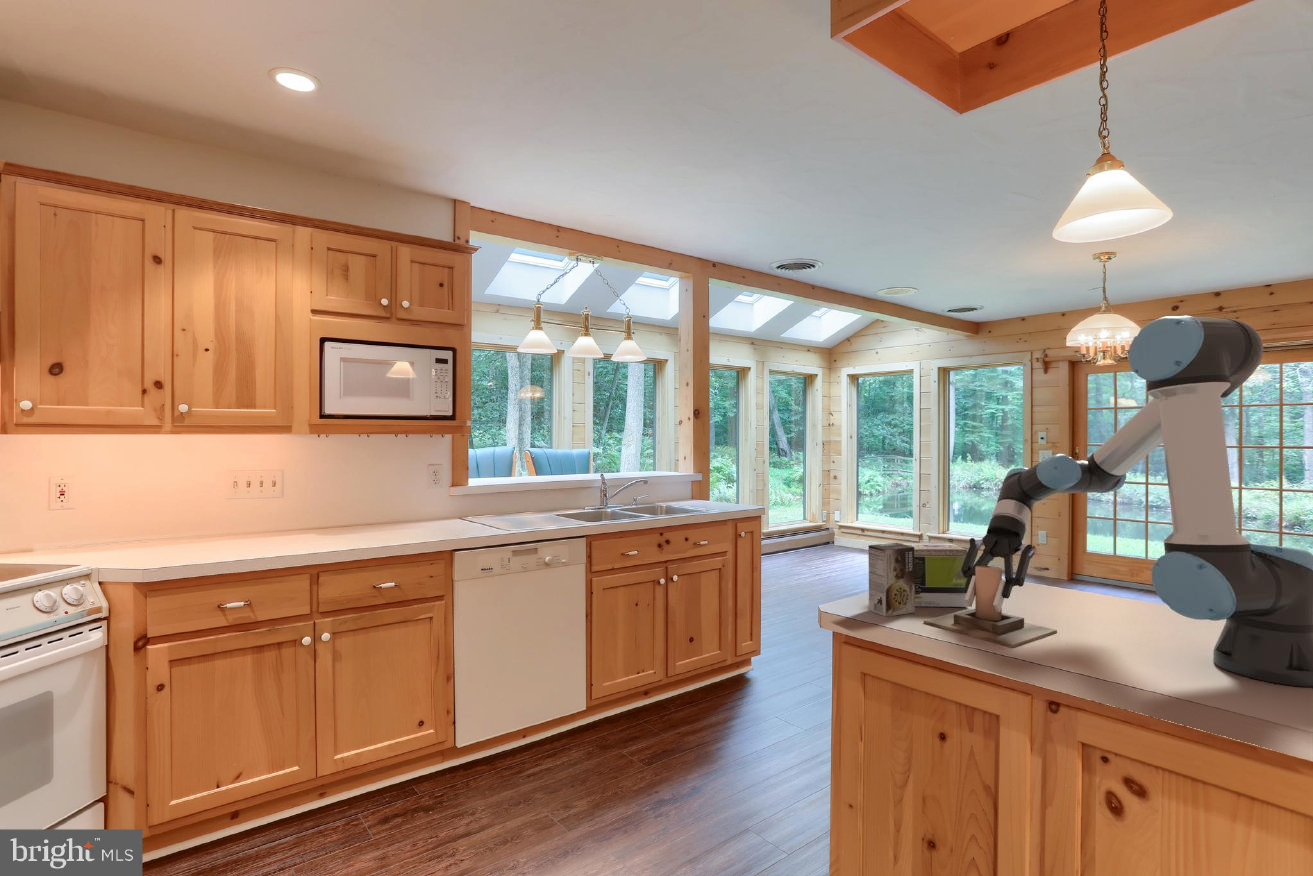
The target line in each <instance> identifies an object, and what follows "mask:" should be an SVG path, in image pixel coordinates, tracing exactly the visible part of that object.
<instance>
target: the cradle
mask: <svg viewBox="0 0 1313 876" xmlns="http://www.w3.org/2000/svg"><path fill="white" fill-rule="evenodd" d="M922 623H923V624H926V625H930V626H933V627H936V628H941V629H944V630H947V631H950V632H955V633H958V634H962V635H966V636H969V637H971V638H972V637H973V638H976V639H979V640H983V641H987V642H991V643H995V644H999V645H1002V646H1006V647H1008V648H1016V647H1019V646H1022V645H1025V644H1027V643H1028V644H1029V643H1031V642H1033V641H1037V640H1039V639H1042V638H1045V636H1046V637H1049V636H1051V635H1055V634H1057V633H1058V631H1057V629H1054V628H1050V627H1046V626H1042V625H1038V624H1037V625H1036V624H1033V623H1029V622H1025V617H1020V616H1016V615H1012V614H1008V613H1004V612H1002V620H999V621H989V620H983V619H980V618H977V617H976V616H975V608H972V609H971V608H967V609H963V610H959V611H955V612H951V613H946V614H943V615H939V616H936V617H932V618H928V619H925V620H923V622H922Z"/></svg>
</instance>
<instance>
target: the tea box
mask: <svg viewBox="0 0 1313 876" xmlns="http://www.w3.org/2000/svg"><path fill="white" fill-rule="evenodd" d="M899 543H900V544H905V545H908V546H912V547H914V560H915V607H943V608H944V607H945V608H946V607H947V608H949V607H950V608H953V607H954V608H969V607H968V605H967V603H966V601H965V597H966V594H967V591H966V588H965V584H966V581H967V578H965V577H964V576H963V573H962V571H961V568H962V565H963V563H964V560H965V558H966V555H967V552H968V549H966V548H965V547H961V546H959V545H956V544H954V543H950V542H949V543H945V542H944V543H941V542H937V543H934V542H932V543H931V542H930V543H928V542H926V543H925V542H923V543H922V542H921V543H920V542H918V543H917V542H916V543H915V542H912V543H911V542H909V543H905V542H904V543H901V542H899Z"/></svg>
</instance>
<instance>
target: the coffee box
mask: <svg viewBox="0 0 1313 876" xmlns="http://www.w3.org/2000/svg"><path fill="white" fill-rule="evenodd" d="M900 543H901V542H893V543H892V542H890V543H880V544H871V545H870V544H869V545H868V611H870V612H871V613H872V612H873V613H875V614H878V615H880V616H883V617H894V616H900V615H907V614H914V613H916V606H915V560H914V547H912V546H908V545H905V544H900Z"/></svg>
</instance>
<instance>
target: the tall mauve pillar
mask: <svg viewBox="0 0 1313 876" xmlns="http://www.w3.org/2000/svg"><path fill="white" fill-rule="evenodd" d="M1001 580H1003V569H1002V568H1001V567H999V566H998V567H997V566H993V565H987V566H976V567H975V598H974V601H975V603H974V604H975V606H974V607H975V608H974V609H975V616H976V617H977V618H980V619H983V620H989V621H999V620H1002V613H1003V608H1001V611H1000V612H996V610H995V608H994V606H993V603H994V600H995V597H996V593H997V590H998V587H999V584H1000V581H1001Z"/></svg>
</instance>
